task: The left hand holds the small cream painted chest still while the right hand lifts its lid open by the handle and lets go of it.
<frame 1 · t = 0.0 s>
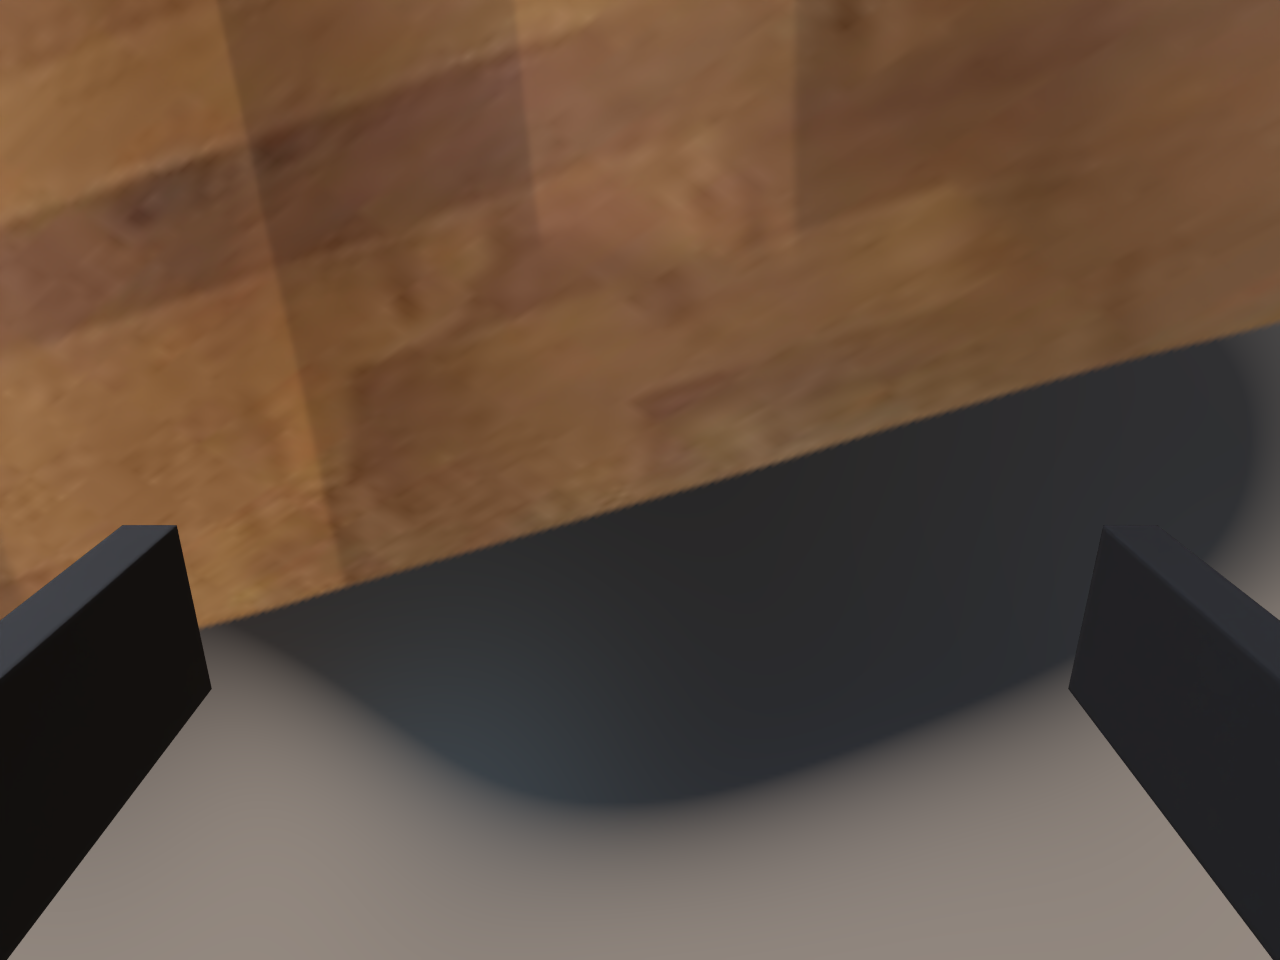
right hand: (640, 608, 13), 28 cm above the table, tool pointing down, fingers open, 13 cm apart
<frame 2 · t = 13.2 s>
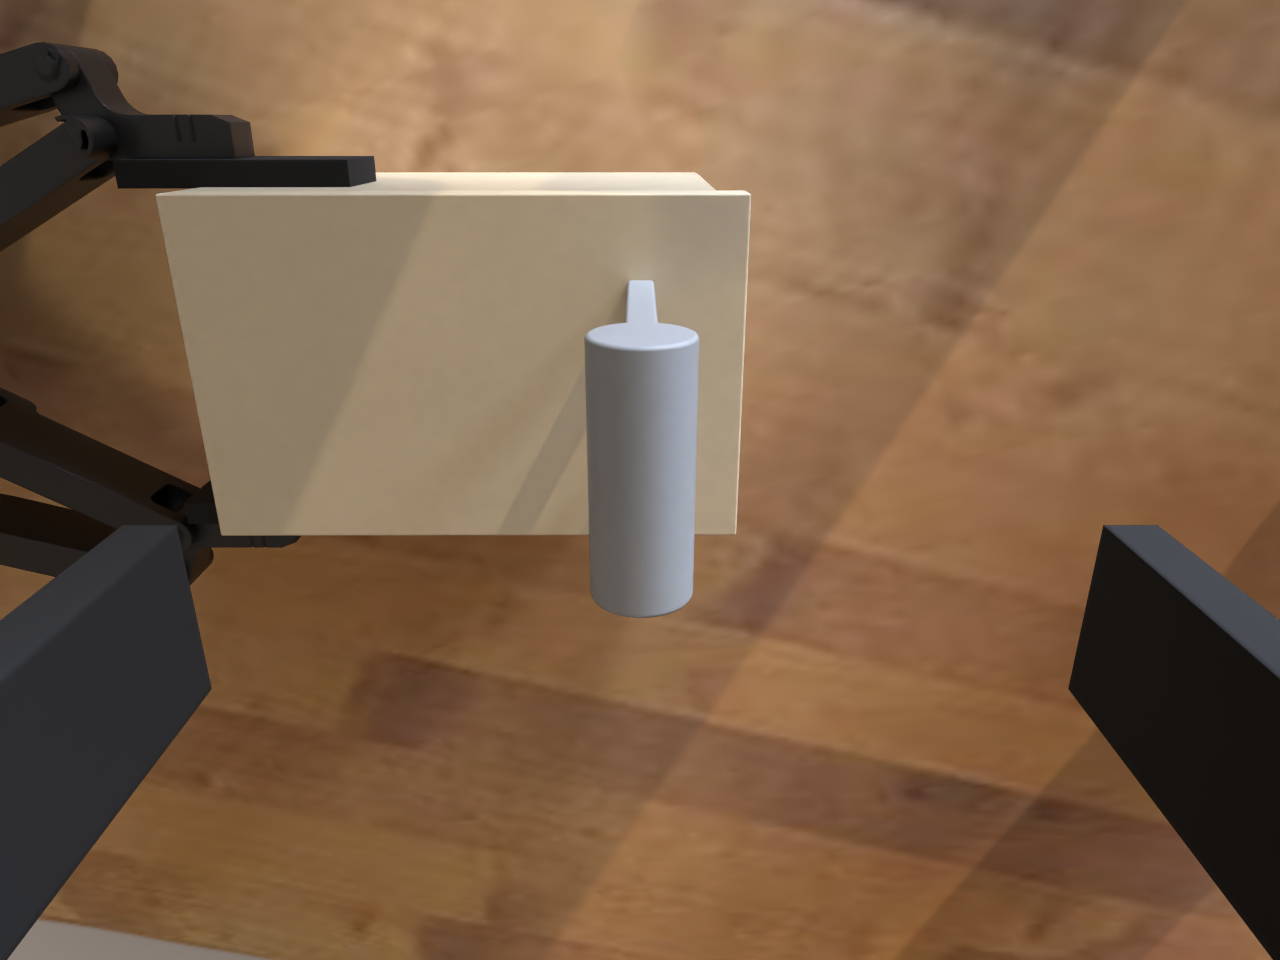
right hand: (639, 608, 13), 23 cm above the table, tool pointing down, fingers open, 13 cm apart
chest: (504, 305, 34), on the table, touching left hand
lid: (440, 416, 21), point 14 cm above the table, hinge at 0.0°
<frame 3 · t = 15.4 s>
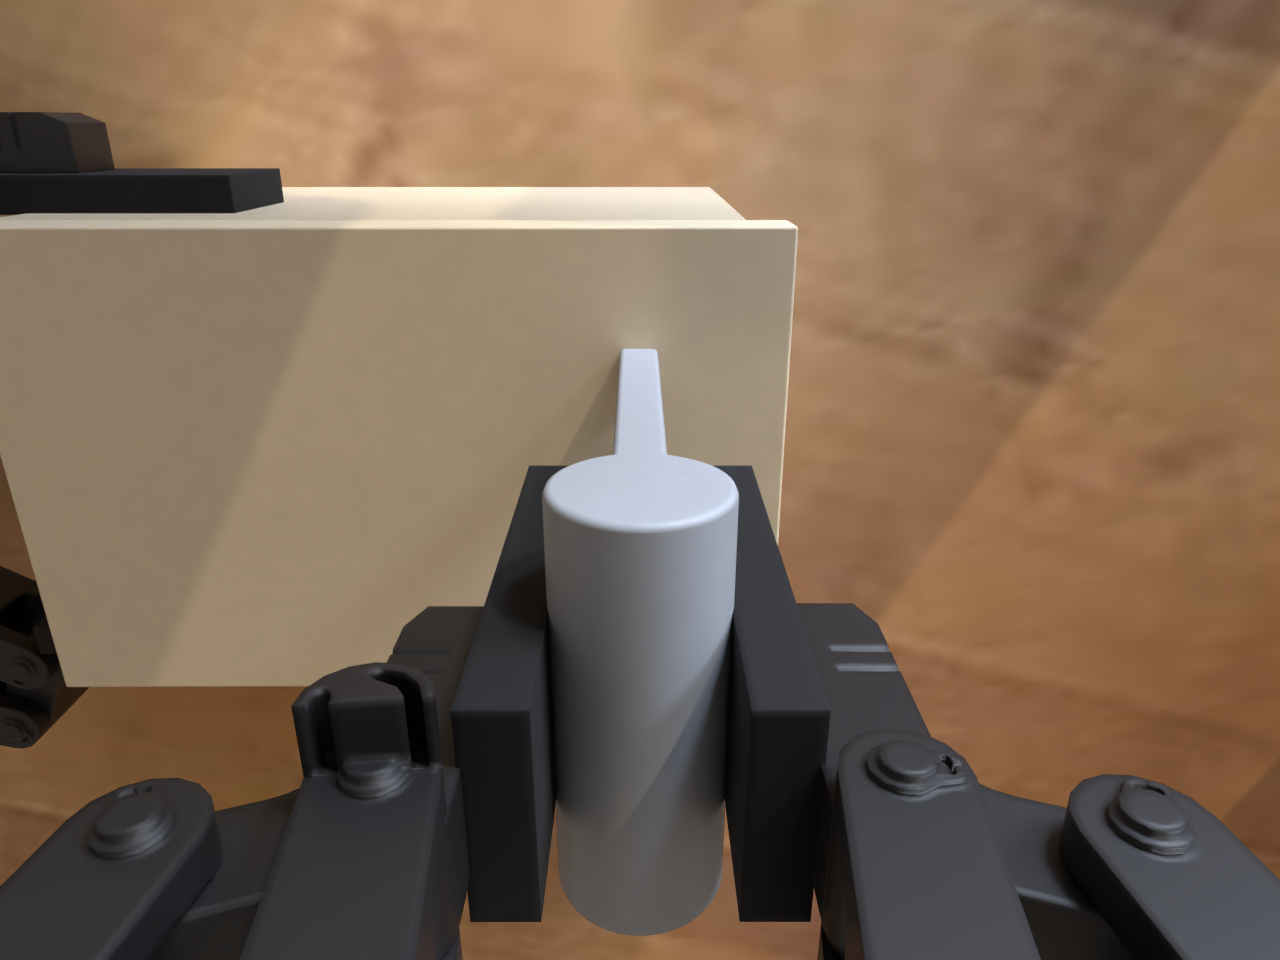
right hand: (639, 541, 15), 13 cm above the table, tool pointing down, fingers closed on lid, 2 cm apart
chest: (468, 354, 27), on the table, touching left hand
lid: (339, 563, 14), point 14 cm above the table, hinge at -0.1°, touching right hand
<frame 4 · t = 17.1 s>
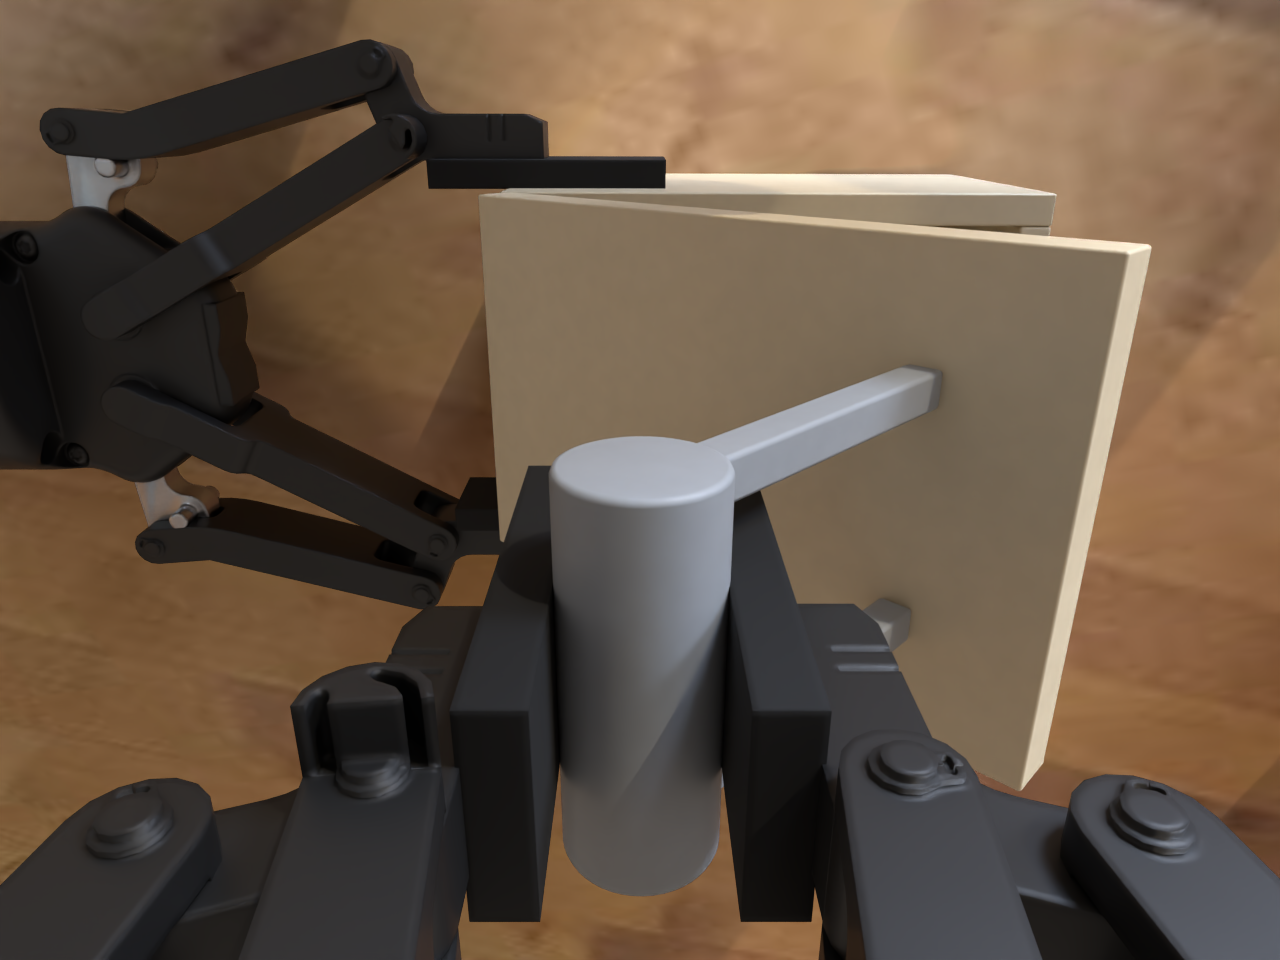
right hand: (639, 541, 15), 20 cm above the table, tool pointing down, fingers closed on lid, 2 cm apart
left hand: (662, 349, 27), fingers closed on chest, 10 cm apart
chest: (740, 309, 33), on the table, touching left hand
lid: (586, 491, 17), point 18 cm above the table, hinge at 42.0°, touching right hand
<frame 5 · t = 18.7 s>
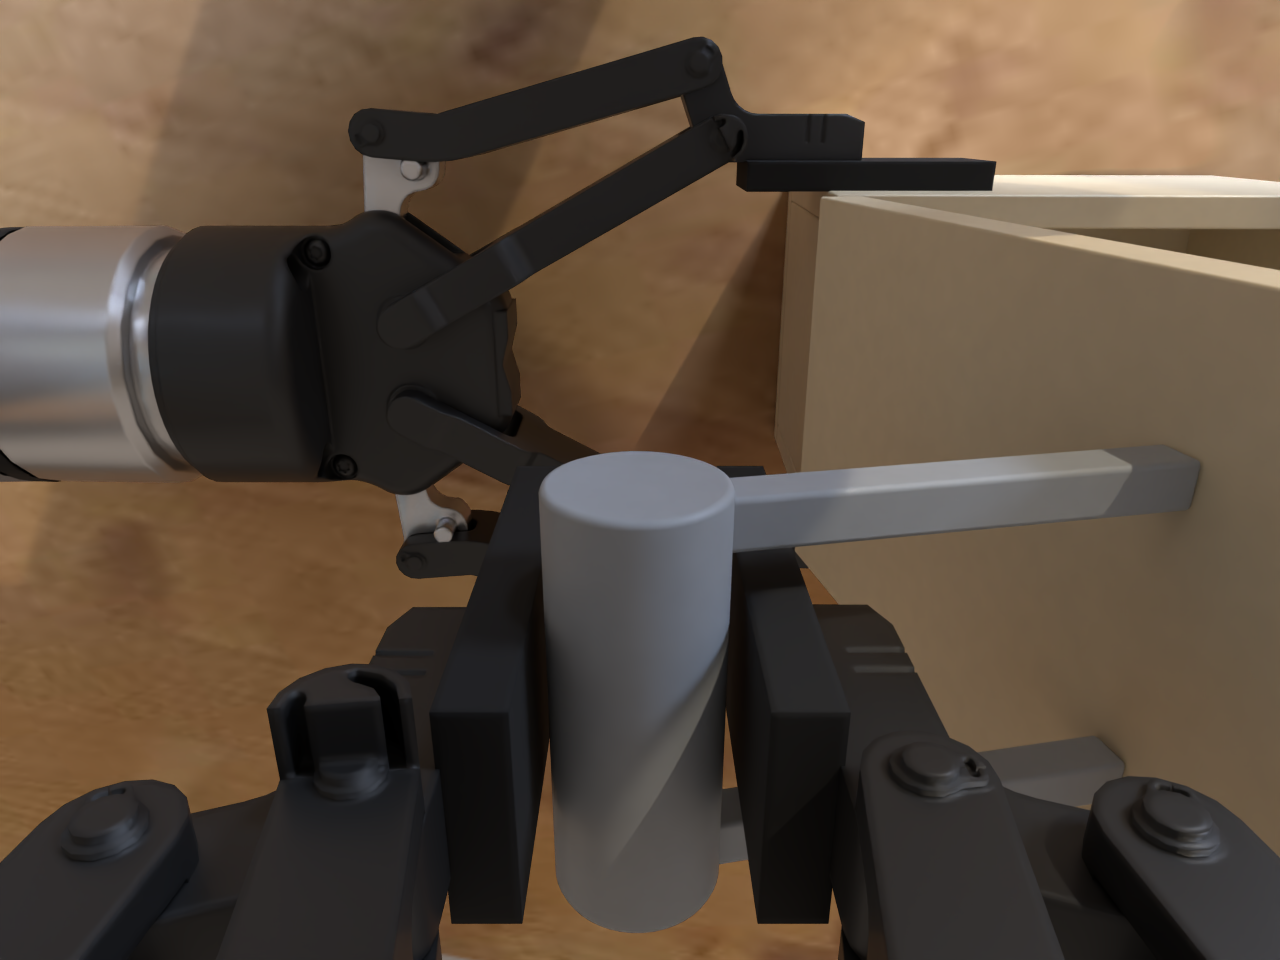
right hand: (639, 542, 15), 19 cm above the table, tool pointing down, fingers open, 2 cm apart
left hand: (951, 356, 27), fingers closed on chest, 10 cm apart
chest: (979, 314, 32), on the table, touching left hand
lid: (777, 513, 16), point 18 cm above the table, hinge at 76.9°
when the left hand's fingers open (7 cm above the table, at t = 22.6 s): chest stays where it is, on the table.
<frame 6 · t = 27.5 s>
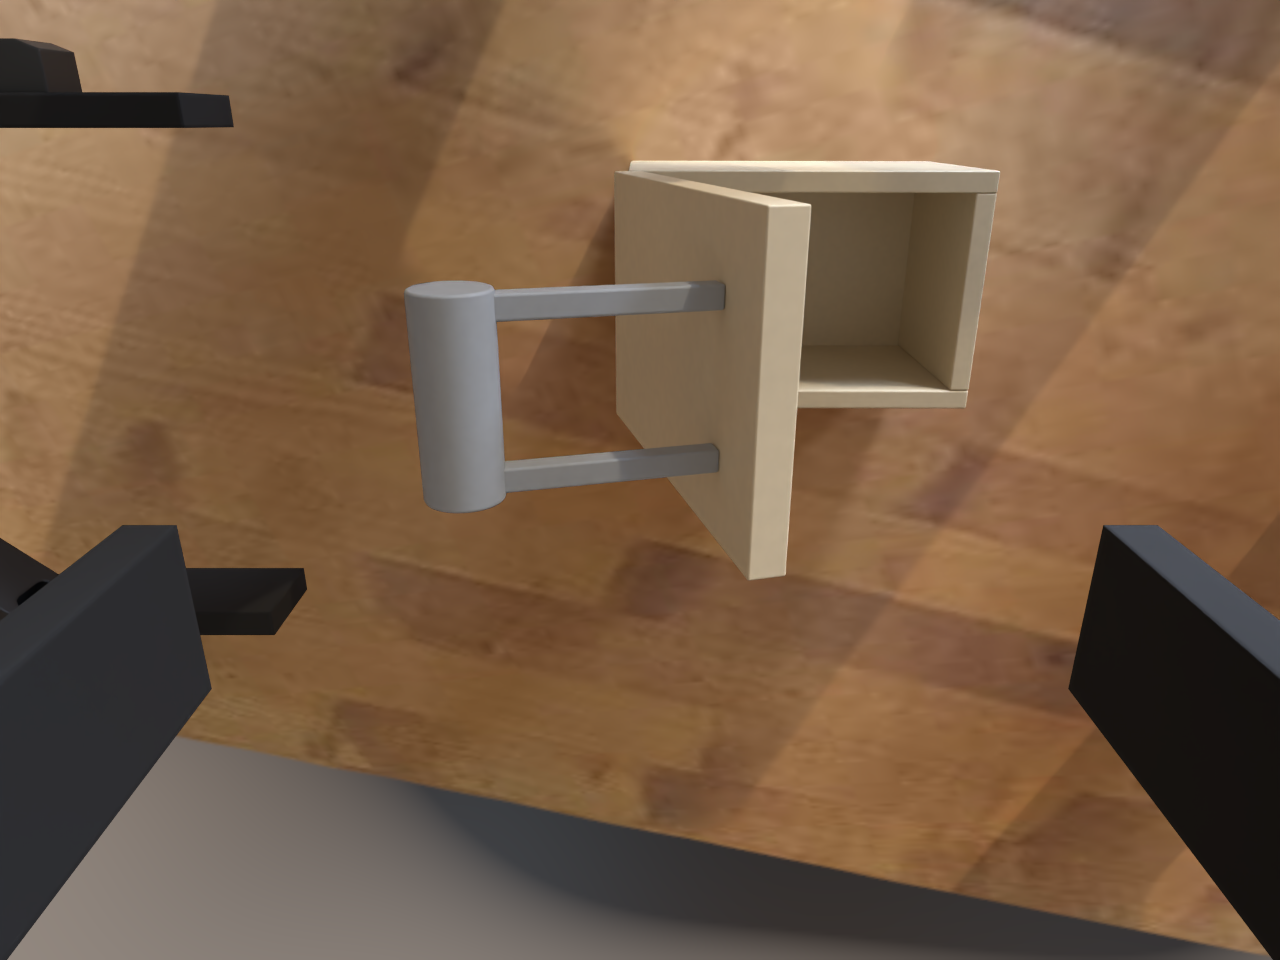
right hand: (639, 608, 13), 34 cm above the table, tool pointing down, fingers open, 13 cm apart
chest: (774, 262, 45), on the table
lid: (561, 347, 28), point 18 cm above the table, hinge at 75.1°
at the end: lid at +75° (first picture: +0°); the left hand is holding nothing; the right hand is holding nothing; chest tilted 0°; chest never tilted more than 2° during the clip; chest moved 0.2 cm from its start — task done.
